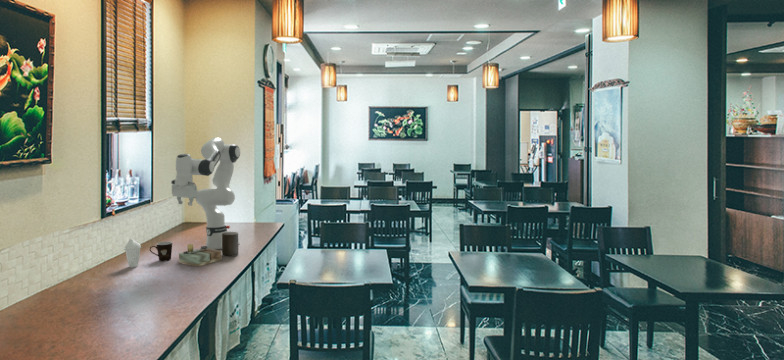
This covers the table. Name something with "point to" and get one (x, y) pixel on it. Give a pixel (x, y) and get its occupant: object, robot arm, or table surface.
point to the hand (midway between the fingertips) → (185, 204)
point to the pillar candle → (229, 244)
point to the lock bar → (190, 249)
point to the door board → (200, 257)
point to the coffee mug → (163, 250)
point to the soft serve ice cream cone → (132, 253)
